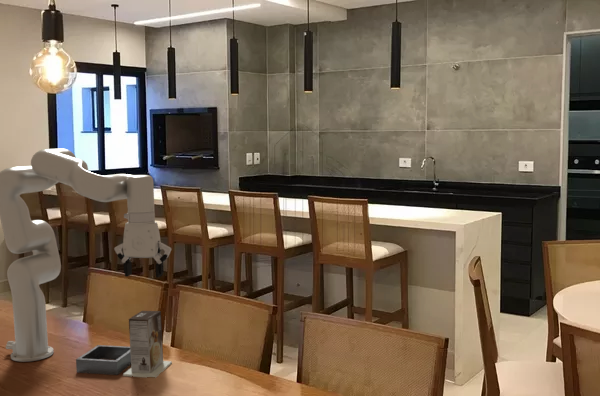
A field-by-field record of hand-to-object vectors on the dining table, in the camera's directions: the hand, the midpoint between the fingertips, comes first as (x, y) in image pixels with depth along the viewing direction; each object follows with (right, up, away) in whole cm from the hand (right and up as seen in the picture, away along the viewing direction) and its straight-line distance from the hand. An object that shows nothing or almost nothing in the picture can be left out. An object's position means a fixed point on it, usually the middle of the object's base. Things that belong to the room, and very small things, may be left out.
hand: (143, 276), depth 192 cm
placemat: (+1, -28, +3) cm, 28 cm away
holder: (-12, -28, +7) cm, 31 cm away
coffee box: (0, -28, +3) cm, 28 cm away
